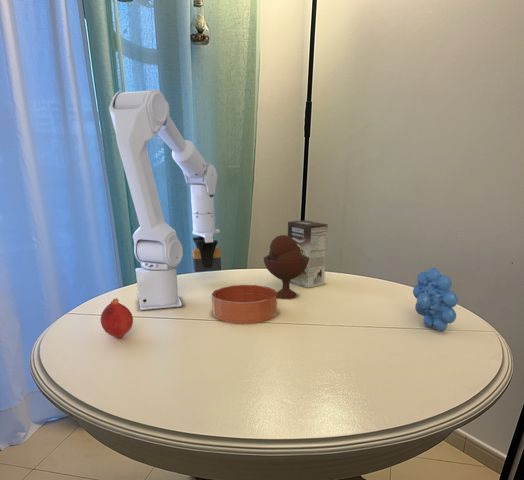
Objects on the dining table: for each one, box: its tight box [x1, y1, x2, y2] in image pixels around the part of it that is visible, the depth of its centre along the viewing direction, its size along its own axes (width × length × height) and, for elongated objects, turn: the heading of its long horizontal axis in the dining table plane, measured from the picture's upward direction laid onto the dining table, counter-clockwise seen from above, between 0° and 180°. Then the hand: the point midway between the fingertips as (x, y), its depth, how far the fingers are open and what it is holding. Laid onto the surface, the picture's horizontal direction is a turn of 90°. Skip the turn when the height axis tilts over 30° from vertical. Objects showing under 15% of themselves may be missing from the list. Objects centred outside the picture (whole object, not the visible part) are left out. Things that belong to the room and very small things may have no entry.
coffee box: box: [287, 220, 329, 288], centre depth 121 cm, size 9×6×16 cm
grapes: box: [412, 267, 459, 332], centre depth 90 cm, size 12×7×12 cm, turn 23°
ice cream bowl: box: [263, 234, 309, 300], centre depth 110 cm, size 11×11×15 cm
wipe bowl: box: [211, 284, 278, 325], centre depth 100 cm, size 14×14×4 cm
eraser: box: [191, 247, 222, 273], centre depth 122 cm, size 7×4×6 cm, turn 106°
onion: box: [100, 297, 134, 339], centre depth 86 cm, size 6×6×8 cm
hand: (206, 265), depth 122 cm, fingers closed on eraser, 3 cm apart
